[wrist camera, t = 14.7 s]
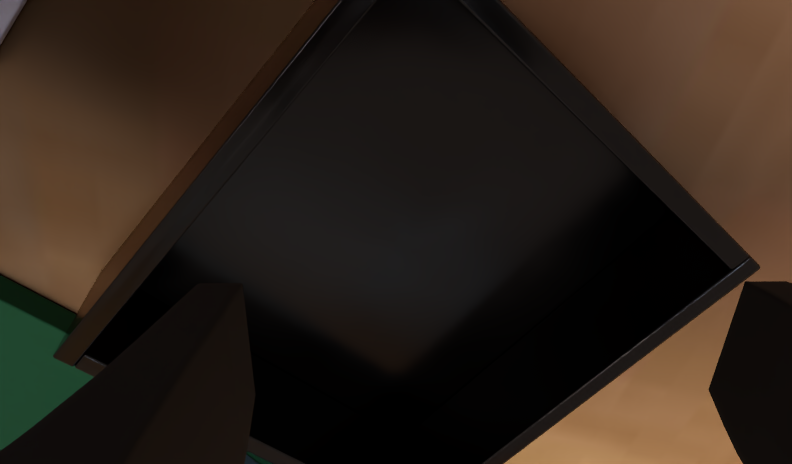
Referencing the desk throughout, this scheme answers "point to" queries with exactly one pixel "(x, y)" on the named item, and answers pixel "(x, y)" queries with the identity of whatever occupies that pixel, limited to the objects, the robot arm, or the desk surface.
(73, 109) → the desk surface
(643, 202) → the desk tray
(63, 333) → the felt mat
